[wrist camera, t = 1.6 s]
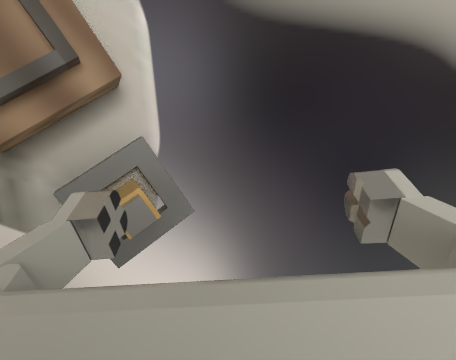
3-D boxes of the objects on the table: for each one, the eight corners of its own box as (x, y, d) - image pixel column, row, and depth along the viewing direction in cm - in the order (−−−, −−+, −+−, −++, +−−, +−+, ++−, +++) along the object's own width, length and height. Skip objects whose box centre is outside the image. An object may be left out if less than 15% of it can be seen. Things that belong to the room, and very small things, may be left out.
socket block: (4, 151, 31) (-33, 158, 23) (-111, 23, 27) (-213, -30, 18) (118, 85, 35) (123, 69, 26) (33, -39, 30) (5, -108, 22)
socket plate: (117, 262, 38) (118, 268, 36) (55, 191, 34) (53, 194, 32) (190, 207, 40) (194, 211, 39) (140, 136, 37) (142, 136, 35)
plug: (125, 221, 37) (131, 244, 30) (105, 197, 36) (105, 214, 28) (151, 202, 38) (164, 219, 31) (133, 178, 37) (141, 189, 29)
